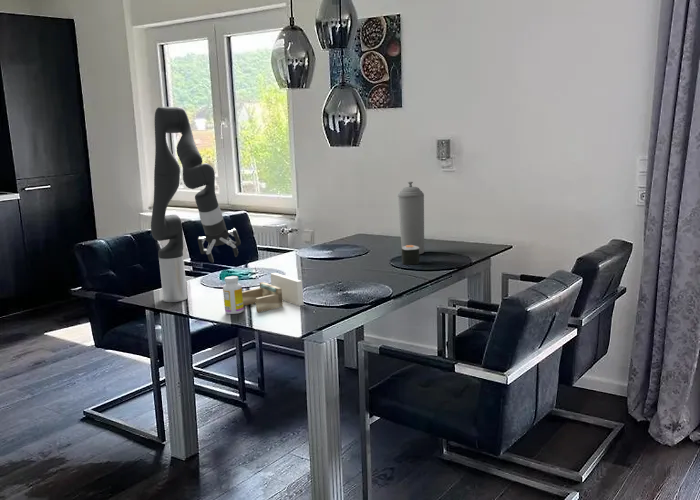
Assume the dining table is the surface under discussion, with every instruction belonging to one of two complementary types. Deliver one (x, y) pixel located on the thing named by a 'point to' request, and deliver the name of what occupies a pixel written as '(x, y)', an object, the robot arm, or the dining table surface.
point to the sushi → (410, 255)
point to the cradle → (264, 297)
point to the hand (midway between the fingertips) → (224, 258)
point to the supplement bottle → (233, 295)
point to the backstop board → (288, 288)
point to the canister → (412, 217)
